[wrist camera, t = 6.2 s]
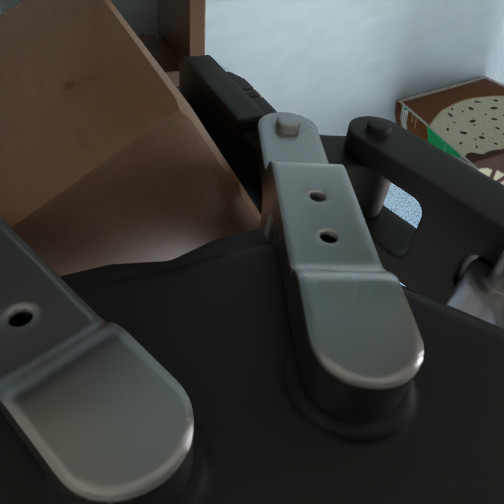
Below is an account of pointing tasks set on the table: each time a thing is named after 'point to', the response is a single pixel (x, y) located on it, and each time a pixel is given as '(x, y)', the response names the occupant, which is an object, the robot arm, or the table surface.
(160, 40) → the crate
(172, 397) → the robot arm
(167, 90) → the wooden block
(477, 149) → the food container
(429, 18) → the table surface
